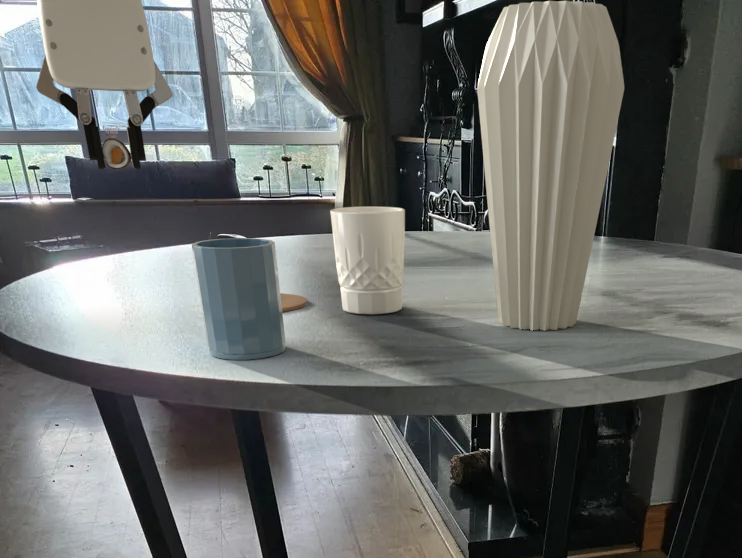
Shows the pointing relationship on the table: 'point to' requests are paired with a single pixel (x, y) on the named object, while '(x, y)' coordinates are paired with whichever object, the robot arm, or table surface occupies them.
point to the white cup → (369, 257)
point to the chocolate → (115, 152)
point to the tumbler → (240, 297)
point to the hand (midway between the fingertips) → (119, 167)
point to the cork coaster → (292, 302)
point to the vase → (547, 152)
